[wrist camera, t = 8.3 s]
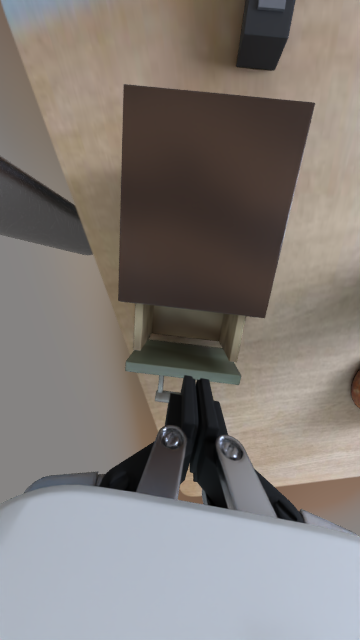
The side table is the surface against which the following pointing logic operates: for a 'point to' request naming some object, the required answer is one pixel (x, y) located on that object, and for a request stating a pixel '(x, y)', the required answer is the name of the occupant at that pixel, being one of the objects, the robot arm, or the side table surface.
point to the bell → (356, 389)
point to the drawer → (185, 345)
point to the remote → (264, 33)
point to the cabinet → (206, 196)
